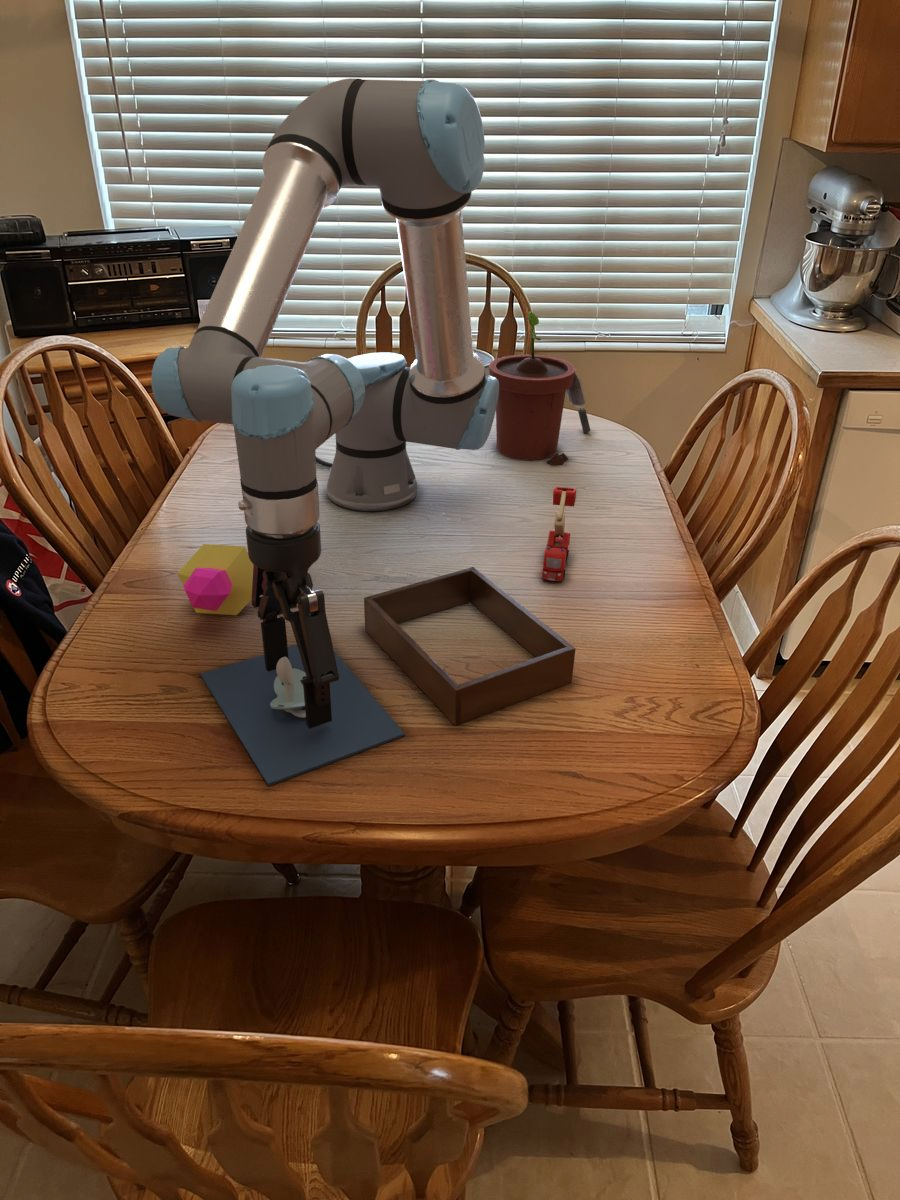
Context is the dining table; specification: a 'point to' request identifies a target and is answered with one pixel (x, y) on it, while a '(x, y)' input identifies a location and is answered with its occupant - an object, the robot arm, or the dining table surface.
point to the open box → (507, 613)
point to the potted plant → (534, 403)
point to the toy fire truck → (558, 547)
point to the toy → (218, 579)
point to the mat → (297, 719)
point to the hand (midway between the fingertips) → (297, 693)
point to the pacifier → (289, 689)
